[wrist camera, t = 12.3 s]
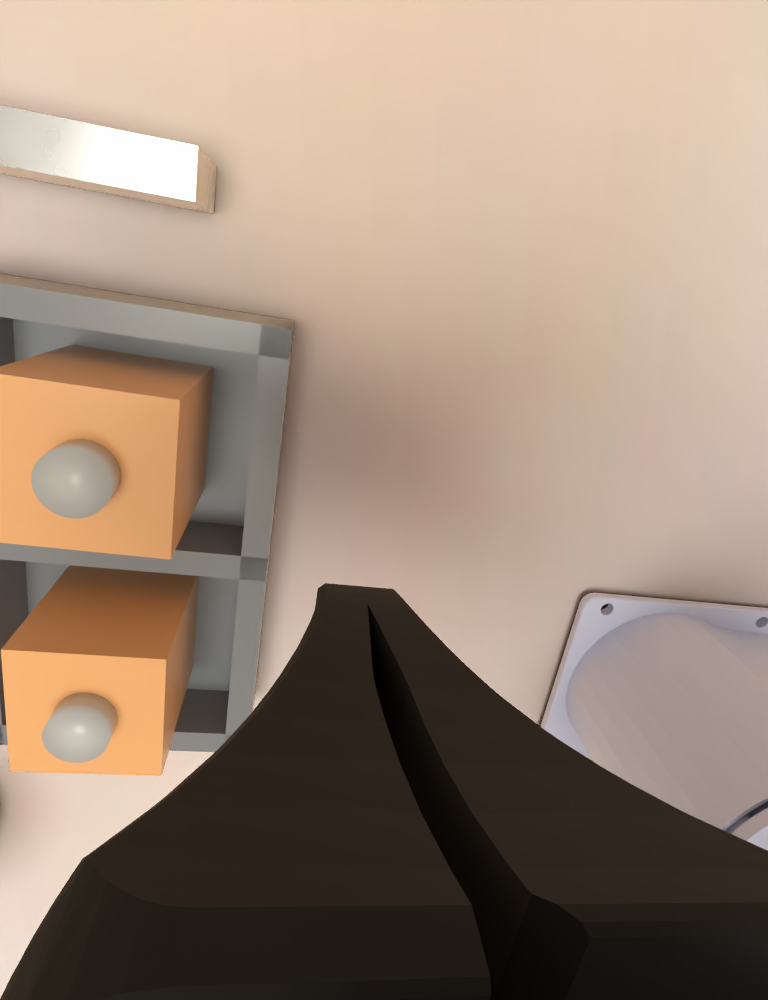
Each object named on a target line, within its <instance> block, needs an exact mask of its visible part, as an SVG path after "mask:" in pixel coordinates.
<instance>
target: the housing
mask: <svg viewBox="0 0 768 1000" xmlns="http://www.w3.org/2000/svg"><path fill="white" fill-rule="evenodd" d="M293 331H294V320H288V319H281V318H275V317H269V316H263V315H256V314H250V313H244V312H238V311H231V310H225V309H219V308H213V307H206V306H200V305H194V304H188V303H181V302H175V301H169V300H163V299H156V298H150V297H144V296H138V295H131V294H125V293H119V292H113V291H107V290H100V289H94V288H88V287H82V286H75V285H69V284H63V283H57V282H50V281H44V280H38V279H32V278H25V277H19V276H13V275H7V274H0V366H3V365H7V364H10V363H13V362H16V361H20V360H23V359H26V358H30V357H33V356H36V355H39V354H43V353H46V352H49V351H52V350H56V349H59V348H62V347H66V346H69V345H78V346H84V347H91V348H97V349H103V350H110V351H116V352H123V353H129V354H135V355H142V356H148V357H155V358H161V359H167V360H174V361H180V362H187V363H193V364H199V365H206V366H212V367H213V379H212V392H211V406H210V419H209V432H208V445H207V458H206V471H205V485H204V491H203V493H202V495H201V497H200V499H199V501H198V504H197V506H196V508H195V510H194V512H193V514H192V516H191V518H190V520H189V522H188V524H187V526H186V529H185V531H184V533H183V535H182V537H181V539H180V541H179V543H178V545H177V547H176V549H175V552H174V554H173V556H172V558H171V560H170V559H160V558H149V557H139V556H129V555H119V554H109V553H99V552H89V551H79V550H69V549H59V548H49V547H39V546H29V545H18V544H8V543H0V745H8V741H7V727H6V713H5V700H4V686H3V672H2V659H1V649H2V648H3V646H4V645H5V644H6V643H7V641H8V640H9V639H10V638H11V637H12V635H13V634H14V633H15V632H16V630H17V629H18V628H19V627H20V626H21V624H22V623H23V622H24V621H25V619H26V618H27V617H28V616H29V614H30V613H31V612H32V611H33V610H34V608H35V607H36V606H37V605H38V603H39V602H40V601H41V600H42V599H43V597H44V596H45V595H46V594H47V592H48V591H49V590H50V589H51V587H52V586H53V585H54V584H55V583H56V581H57V580H58V579H59V578H60V576H61V575H62V574H63V573H64V572H65V570H66V569H67V568H68V567H69V565H73V566H85V567H97V568H109V569H121V570H133V571H145V572H157V573H169V574H181V575H193V576H199V580H198V596H197V613H196V629H195V646H194V662H193V669H192V673H191V676H190V680H189V683H188V686H187V690H186V693H185V697H184V700H183V704H182V707H181V710H180V714H179V717H178V721H177V724H176V728H175V731H174V734H173V738H172V741H171V745H170V748H169V750H173V751H202V752H216V751H217V750H218V749H219V748H220V747H221V746H222V745H223V744H224V743H225V742H226V741H227V740H228V738H229V737H230V736H231V735H232V734H233V733H234V732H235V731H236V730H237V729H238V727H239V726H240V725H241V724H242V723H243V722H244V721H245V720H246V719H247V717H248V716H249V715H250V714H251V713H252V712H253V705H254V697H255V688H256V678H257V669H258V659H259V650H260V641H261V631H262V622H263V612H264V603H265V594H266V584H267V575H268V565H269V556H270V547H271V537H272V528H273V518H274V509H275V500H276V490H277V481H278V471H279V462H280V453H281V443H282V434H283V425H284V415H285V406H286V396H287V387H288V378H289V368H290V359H291V349H292V340H293Z"/></svg>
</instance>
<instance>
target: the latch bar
mask: <svg viewBox="0 0 768 1000" xmlns="http://www.w3.org/2000/svg"><path fill="white" fill-rule="evenodd" d="M216 168H217V167H216V166H215V165H214V164H213V162H212V161H211V160H210V159H209V158H208V157H207V155H206V154H205V153H204V152H203V151H202V150H201V149H200V147H199V146H197V145H192V144H187V143H182V142H177V141H173V140H168V139H163V138H158V137H153V136H148V135H143V134H138V133H134V132H129V131H124V130H119V129H114V128H109V127H104V126H99V125H95V124H90V123H85V122H80V121H75V120H70V119H65V118H60V117H55V116H51V115H46V114H41V113H36V112H31V111H26V110H21V109H16V108H12V107H7V106H2V105H0V174H5V175H10V176H16V177H21V178H26V179H32V180H37V181H42V182H48V183H53V184H58V185H64V186H69V187H75V188H80V189H85V190H91V191H96V192H101V193H107V194H112V195H117V196H123V197H128V198H133V199H139V200H144V201H150V202H155V203H160V204H166V205H171V206H176V207H182V208H187V209H192V210H198V211H203V212H208V213H214V203H215V186H216Z"/></svg>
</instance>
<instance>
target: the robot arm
mask: <svg viewBox="0 0 768 1000" xmlns="http://www.w3.org/2000/svg"><path fill="white" fill-rule="evenodd" d="M608 603H609V605H608V606H607V608H605V609H603V610H601V608H602V606H603V605H605V604H608ZM759 618H760V619H759ZM758 619H759V620H758ZM757 620H758V621H757ZM588 758H591V759H592V760H590V759H588ZM0 1000H768V608H761V607H750V606H739V605H728V604H716V603H705V602H694V601H683V600H671V599H660V598H649V597H638V596H627V595H615V594H604V593H589V594H587V595H585V596H584V597H583V598H582V600H581V601H580V604H579V607H578V610H577V613H576V616H575V619H574V623H573V626H572V629H571V632H570V635H569V638H568V641H567V645H566V648H565V651H564V654H563V657H562V660H561V663H560V667H559V670H558V673H557V676H556V679H555V682H554V685H553V689H552V692H551V695H550V698H549V701H548V704H547V707H546V710H545V714H544V717H543V720H542V723H541V726H539V725H537V724H536V723H535V722H533V721H532V720H531V719H529V718H528V717H527V716H526V715H524V714H523V713H522V712H520V711H519V710H518V709H516V708H515V707H514V706H512V705H511V704H510V703H508V702H507V701H506V700H505V699H503V698H502V697H501V696H500V695H499V694H497V693H496V692H495V691H494V690H493V689H491V688H490V687H489V686H488V685H487V684H486V683H485V682H484V681H483V680H481V679H480V678H479V677H478V676H477V675H476V674H475V673H474V672H473V671H471V670H470V669H469V668H468V667H467V666H466V665H465V664H464V663H463V662H462V661H461V660H460V659H459V658H458V657H457V656H456V655H455V654H454V653H453V652H452V651H451V650H450V649H449V648H448V647H447V646H446V645H445V644H444V643H443V642H442V641H441V640H440V639H439V638H438V637H437V636H436V635H435V634H434V633H433V632H432V631H431V630H430V629H429V628H428V626H427V625H426V624H425V623H424V622H423V621H422V620H421V619H420V618H419V617H418V615H417V614H416V613H415V612H414V611H413V610H412V609H411V608H410V607H409V605H408V604H407V603H406V602H405V601H404V600H403V599H402V598H401V597H400V596H399V594H398V593H397V592H396V591H395V590H394V589H385V588H373V587H362V586H350V585H338V584H326V583H325V584H324V585H322V586H321V587H320V588H318V592H317V599H316V606H315V611H314V614H313V616H312V619H311V621H310V623H309V625H308V627H307V630H306V632H305V634H304V636H303V638H302V640H301V642H300V644H299V646H298V647H297V649H296V651H295V652H294V654H293V656H292V657H291V659H290V660H289V662H288V664H287V665H286V667H285V668H284V670H283V672H282V673H281V675H280V676H279V678H278V679H277V680H276V682H275V683H274V685H273V686H272V687H271V689H270V690H269V692H268V693H267V694H266V696H265V697H264V698H263V699H262V701H261V702H260V703H259V704H258V706H257V707H256V708H255V709H254V711H253V712H252V713H251V714H250V715H249V716H248V717H247V719H246V720H245V721H244V722H243V723H242V724H241V725H240V726H239V727H238V729H237V730H236V731H235V732H234V733H233V734H232V735H231V736H230V737H229V738H228V740H227V741H226V742H225V743H224V744H223V745H222V746H221V747H220V748H219V749H218V750H217V751H216V752H215V753H214V754H213V755H212V756H211V757H210V758H208V759H207V760H206V761H205V762H204V763H203V764H202V765H201V766H199V767H198V768H197V769H196V770H195V771H194V772H193V773H192V774H190V775H189V776H188V777H187V778H186V779H185V780H184V781H183V782H182V783H180V784H179V785H178V786H177V787H176V788H175V789H174V790H173V791H171V792H170V793H169V794H168V795H167V796H166V797H164V798H163V799H162V800H161V801H160V802H158V803H157V804H156V805H155V806H153V807H152V808H151V809H150V810H148V811H147V812H145V813H144V814H143V815H141V816H140V817H139V818H137V819H136V820H135V821H133V822H132V823H131V824H129V825H128V826H127V827H125V828H124V829H123V830H121V831H120V832H119V833H117V834H116V835H115V836H113V837H112V838H111V839H109V840H108V841H106V842H105V843H104V844H102V845H101V846H100V847H98V848H97V849H96V850H94V851H93V852H91V853H90V854H89V855H87V856H86V857H84V858H83V859H82V861H81V862H80V863H79V865H78V866H77V868H76V869H75V871H74V872H73V874H72V875H71V877H70V878H69V880H68V881H67V883H66V884H65V886H64V888H63V889H62V891H61V892H60V894H59V895H58V897H57V898H56V900H55V901H54V903H53V904H52V906H51V908H50V909H49V911H48V913H47V914H46V916H45V918H44V919H43V921H42V923H41V924H40V926H39V928H38V929H37V931H36V933H35V934H34V936H33V938H32V940H31V941H30V943H29V945H28V947H27V949H26V951H25V953H24V955H23V956H22V958H21V960H20V962H19V964H18V966H17V967H16V969H15V971H14V973H13V974H12V976H11V978H10V980H9V982H8V984H7V986H6V989H5V991H4V993H3V995H2V997H1V999H0Z"/></svg>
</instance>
